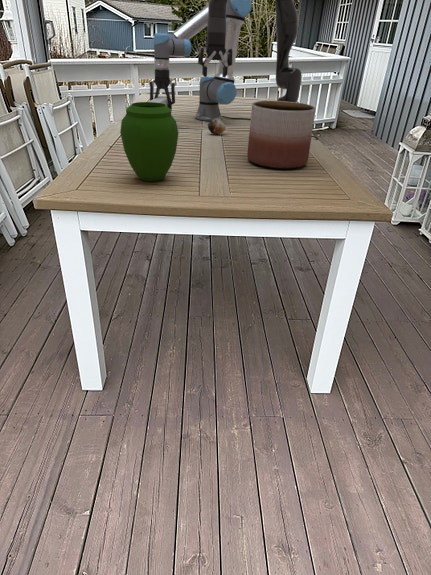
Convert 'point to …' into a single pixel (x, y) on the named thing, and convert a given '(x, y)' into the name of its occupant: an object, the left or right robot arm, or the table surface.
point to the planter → (280, 134)
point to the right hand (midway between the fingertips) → (214, 76)
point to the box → (160, 100)
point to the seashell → (216, 126)
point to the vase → (149, 139)
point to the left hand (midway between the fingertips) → (162, 117)
